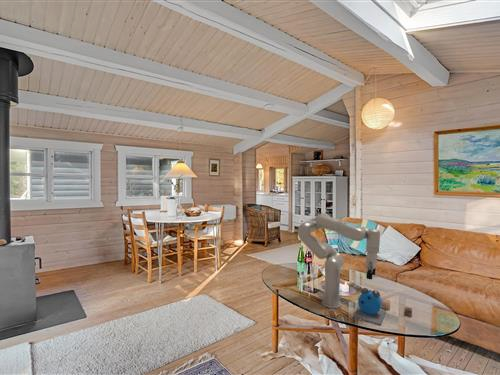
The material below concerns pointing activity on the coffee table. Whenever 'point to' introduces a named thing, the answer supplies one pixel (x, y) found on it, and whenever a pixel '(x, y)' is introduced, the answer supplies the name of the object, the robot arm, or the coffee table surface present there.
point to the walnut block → (408, 311)
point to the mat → (370, 316)
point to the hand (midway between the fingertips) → (370, 276)
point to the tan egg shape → (385, 304)
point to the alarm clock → (370, 301)
